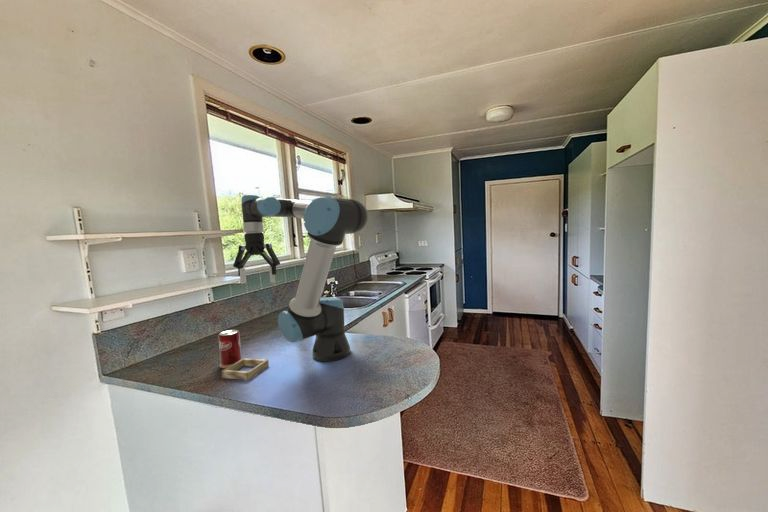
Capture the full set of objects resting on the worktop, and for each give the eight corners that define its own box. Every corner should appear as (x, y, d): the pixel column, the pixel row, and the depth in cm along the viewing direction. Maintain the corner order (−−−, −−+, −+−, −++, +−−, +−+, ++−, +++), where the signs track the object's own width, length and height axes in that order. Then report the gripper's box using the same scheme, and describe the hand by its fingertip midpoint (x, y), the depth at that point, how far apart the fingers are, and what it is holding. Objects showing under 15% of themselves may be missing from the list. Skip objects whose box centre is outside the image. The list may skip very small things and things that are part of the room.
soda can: (227, 368, 113) (225, 336, 112) (216, 364, 117) (214, 334, 116) (245, 360, 119) (243, 330, 118) (234, 357, 123) (232, 328, 122)
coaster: (247, 360, 121) (247, 358, 121) (232, 368, 113) (232, 367, 113) (230, 359, 123) (229, 357, 123) (214, 367, 115) (214, 366, 115)
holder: (268, 366, 114) (268, 359, 114) (249, 380, 104) (248, 373, 103) (243, 364, 117) (243, 358, 117) (222, 377, 106) (221, 371, 106)
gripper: (285, 231, 129) (289, 280, 130) (233, 234, 133) (237, 282, 134) (276, 231, 121) (280, 283, 122) (221, 234, 125) (225, 285, 127)
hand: (258, 283), depth 128 cm, fingers open, 13 cm apart
